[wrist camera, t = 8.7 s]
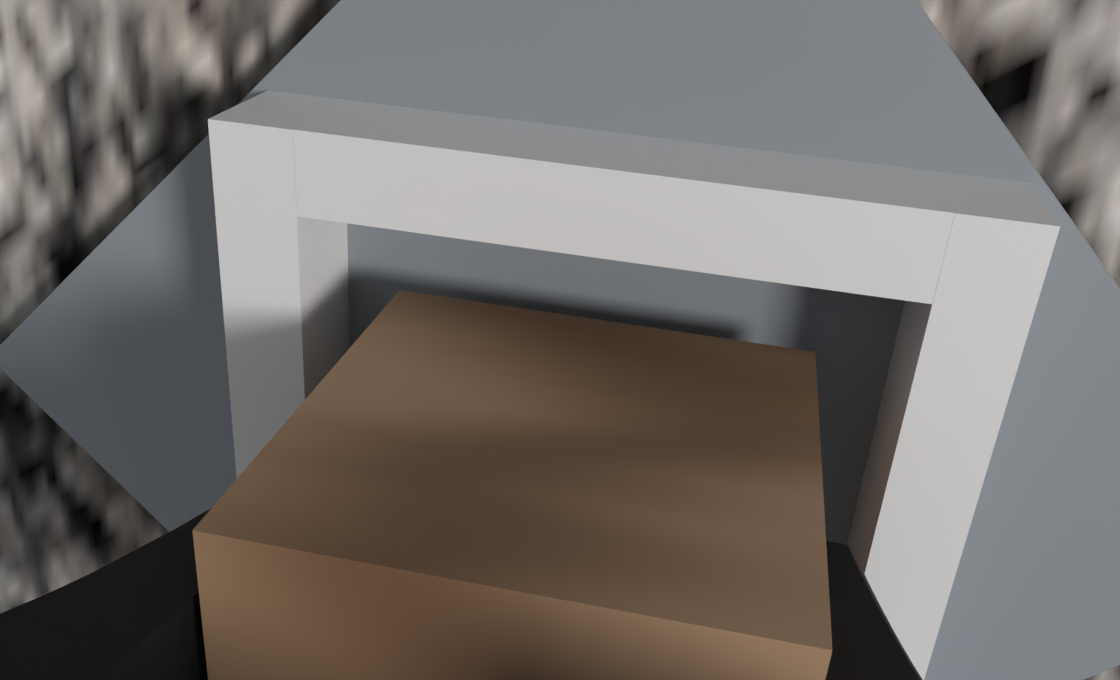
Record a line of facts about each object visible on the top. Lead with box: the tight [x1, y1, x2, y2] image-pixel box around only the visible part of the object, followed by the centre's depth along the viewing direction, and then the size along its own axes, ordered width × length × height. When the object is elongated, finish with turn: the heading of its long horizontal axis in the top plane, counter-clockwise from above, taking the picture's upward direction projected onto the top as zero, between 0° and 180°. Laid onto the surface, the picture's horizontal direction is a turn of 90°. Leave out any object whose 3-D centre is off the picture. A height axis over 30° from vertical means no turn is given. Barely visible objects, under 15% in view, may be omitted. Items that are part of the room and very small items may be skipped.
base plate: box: [0, 0, 1120, 680], centre depth 14 cm, size 13×13×2 cm
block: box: [192, 290, 832, 680], centre depth 11 cm, size 5×5×5 cm
